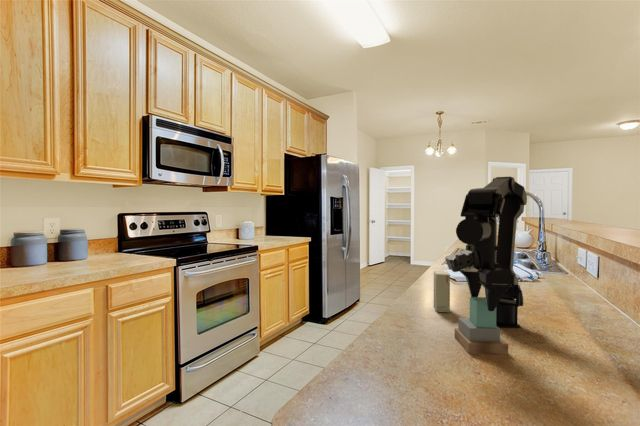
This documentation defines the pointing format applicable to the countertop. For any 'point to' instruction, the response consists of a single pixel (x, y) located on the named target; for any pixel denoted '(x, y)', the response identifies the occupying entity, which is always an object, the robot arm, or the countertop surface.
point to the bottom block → (481, 345)
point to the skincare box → (441, 291)
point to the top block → (478, 331)
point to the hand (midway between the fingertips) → (482, 304)
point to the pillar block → (481, 313)
